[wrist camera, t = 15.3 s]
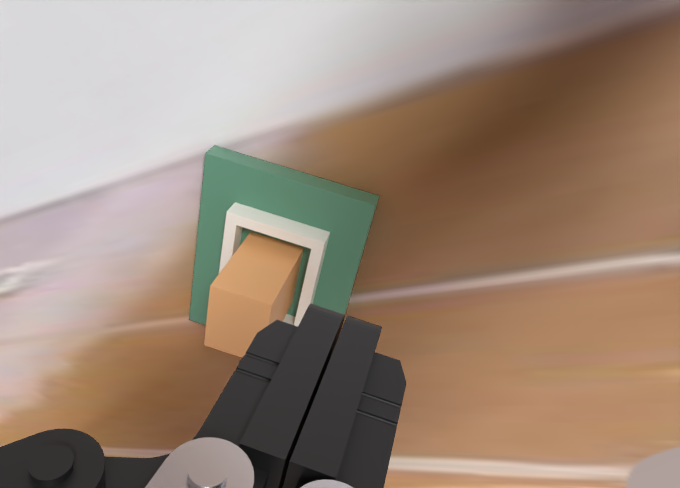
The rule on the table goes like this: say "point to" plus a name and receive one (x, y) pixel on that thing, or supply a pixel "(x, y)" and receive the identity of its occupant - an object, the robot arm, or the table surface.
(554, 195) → the table surface
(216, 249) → the board
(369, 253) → the table surface
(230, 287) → the tan rectangular block
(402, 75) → the table surface
